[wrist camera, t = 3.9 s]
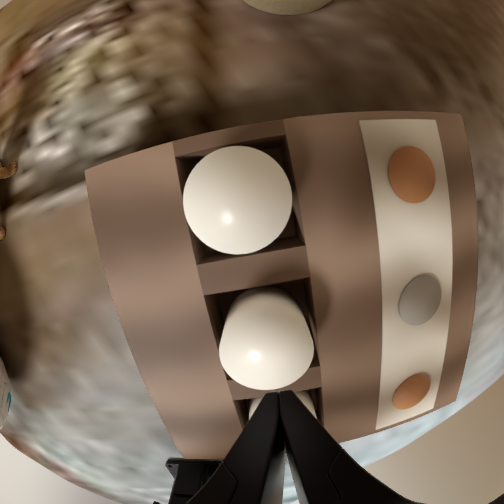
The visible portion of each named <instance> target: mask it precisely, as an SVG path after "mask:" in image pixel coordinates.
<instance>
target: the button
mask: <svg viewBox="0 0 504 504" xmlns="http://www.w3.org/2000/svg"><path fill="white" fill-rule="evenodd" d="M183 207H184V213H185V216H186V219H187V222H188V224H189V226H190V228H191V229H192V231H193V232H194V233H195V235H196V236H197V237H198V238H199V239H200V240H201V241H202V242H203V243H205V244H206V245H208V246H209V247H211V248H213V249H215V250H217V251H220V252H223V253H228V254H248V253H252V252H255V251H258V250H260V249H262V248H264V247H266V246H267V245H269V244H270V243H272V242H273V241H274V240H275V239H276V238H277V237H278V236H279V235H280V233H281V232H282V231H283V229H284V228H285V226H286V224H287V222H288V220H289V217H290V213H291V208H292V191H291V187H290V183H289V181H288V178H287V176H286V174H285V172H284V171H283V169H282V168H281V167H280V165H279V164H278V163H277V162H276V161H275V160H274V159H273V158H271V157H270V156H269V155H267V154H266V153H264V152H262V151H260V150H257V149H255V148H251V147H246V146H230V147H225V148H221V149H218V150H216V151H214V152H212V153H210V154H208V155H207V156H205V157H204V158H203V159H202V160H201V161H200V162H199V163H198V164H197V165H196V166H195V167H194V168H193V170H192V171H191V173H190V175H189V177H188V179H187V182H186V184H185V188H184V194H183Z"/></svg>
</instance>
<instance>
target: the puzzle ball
mask: <svg viewBox="0 0 504 504" xmlns="http://www.w3.org/2000/svg"><path fill="white" fill-rule="evenodd" d="M10 403H11V394H10V384H9V378H8V375H7V372H6V369H5V366H4V363H3V361H2V359H1V357H0V430H1V429H2V427H3V426H4V424H5V421H6V418H7V416H8V412H9V408H10Z"/></svg>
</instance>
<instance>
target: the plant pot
mask: <svg viewBox="0 0 504 504" xmlns="http://www.w3.org/2000/svg"><path fill="white" fill-rule="evenodd" d="M243 1H244V2H246V3H247V4H249V5H250V6H252V7H254V8H257V9H259V10H262V11H265V12H269V13H273V14H280V15H300V14H306V13H310V12H313V11H316V10H318V9H319V8H321V7H323V6H324V5H326V4H327V3H329V2H330V1H332V0H243Z"/></svg>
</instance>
